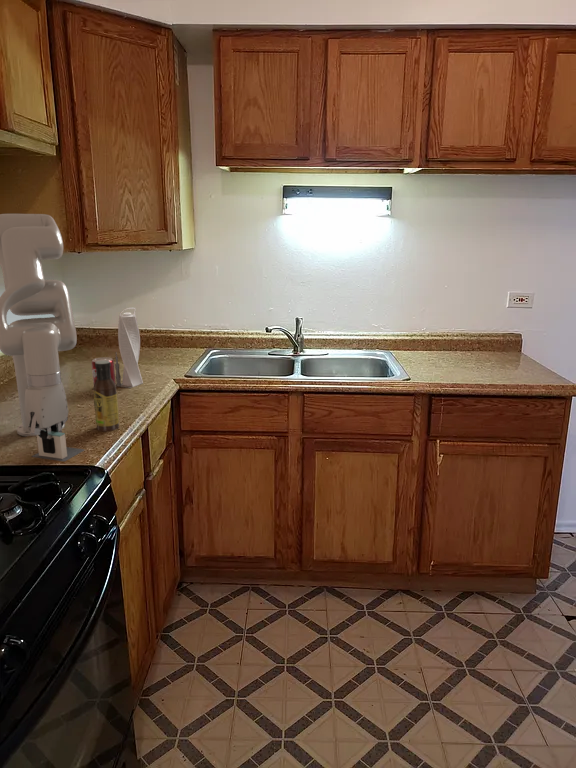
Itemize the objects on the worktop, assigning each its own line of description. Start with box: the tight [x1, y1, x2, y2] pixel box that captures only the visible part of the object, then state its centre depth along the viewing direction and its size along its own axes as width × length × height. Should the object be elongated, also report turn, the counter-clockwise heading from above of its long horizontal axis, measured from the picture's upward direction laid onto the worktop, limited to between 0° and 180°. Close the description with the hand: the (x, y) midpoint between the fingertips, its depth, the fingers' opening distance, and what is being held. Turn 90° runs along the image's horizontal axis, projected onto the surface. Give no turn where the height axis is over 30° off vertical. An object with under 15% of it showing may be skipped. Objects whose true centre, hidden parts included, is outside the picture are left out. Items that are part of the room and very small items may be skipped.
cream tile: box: [36, 431, 67, 459], centre depth 143 cm, size 7×2×6 cm, turn 71°
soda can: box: [91, 357, 116, 385], centre depth 198 cm, size 7×7×12 cm
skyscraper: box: [114, 307, 144, 389], centre depth 207 cm, size 8×8×28 cm
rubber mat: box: [31, 446, 85, 462], centre depth 146 cm, size 8×10×1 cm
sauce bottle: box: [92, 360, 120, 432], centre depth 161 cm, size 6×6×20 cm
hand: (52, 450), depth 143 cm, fingers closed on cream tile, 1 cm apart
